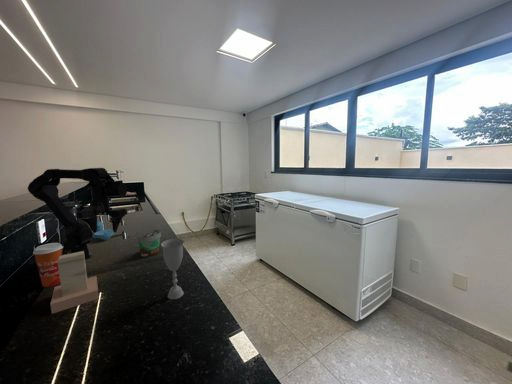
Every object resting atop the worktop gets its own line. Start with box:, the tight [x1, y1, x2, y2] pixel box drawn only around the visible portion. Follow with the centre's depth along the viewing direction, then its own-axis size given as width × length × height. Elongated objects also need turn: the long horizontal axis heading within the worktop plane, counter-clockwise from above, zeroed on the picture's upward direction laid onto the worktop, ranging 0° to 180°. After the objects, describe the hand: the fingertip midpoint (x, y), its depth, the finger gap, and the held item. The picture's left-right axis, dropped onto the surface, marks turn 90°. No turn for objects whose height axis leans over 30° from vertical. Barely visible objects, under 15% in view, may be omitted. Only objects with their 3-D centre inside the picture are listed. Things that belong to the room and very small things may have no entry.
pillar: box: [58, 251, 88, 297], centre depth 68 cm, size 6×6×11 cm
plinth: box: [50, 275, 99, 314], centre depth 69 cm, size 11×11×3 cm
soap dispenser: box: [92, 220, 116, 241], centre depth 122 cm, size 18×10×9 cm, turn 53°
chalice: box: [160, 238, 185, 300], centre depth 70 cm, size 7×7×18 cm
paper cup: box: [32, 242, 64, 288], centre depth 77 cm, size 8×8×14 cm
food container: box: [137, 229, 162, 259], centre depth 101 cm, size 12×6×10 cm, turn 168°
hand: (105, 232), depth 93 cm, fingers open, 9 cm apart
